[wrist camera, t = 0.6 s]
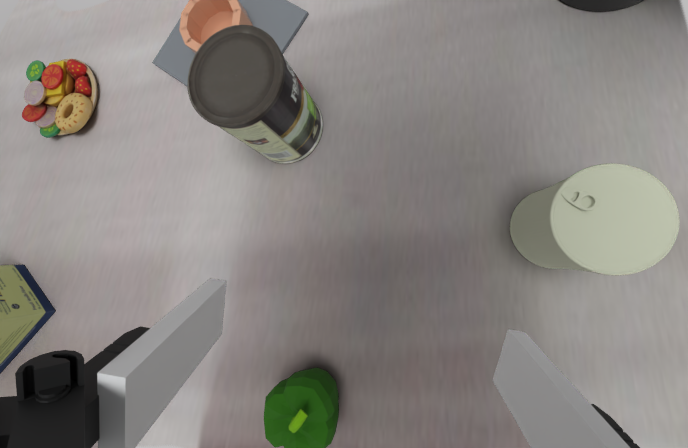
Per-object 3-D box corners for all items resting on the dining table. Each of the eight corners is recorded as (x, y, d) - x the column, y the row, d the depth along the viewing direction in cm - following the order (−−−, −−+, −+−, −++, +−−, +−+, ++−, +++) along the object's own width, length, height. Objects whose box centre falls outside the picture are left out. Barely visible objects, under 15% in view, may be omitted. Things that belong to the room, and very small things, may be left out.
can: (537, 174, 38) (592, 140, 27) (616, 215, 36) (712, 198, 25) (493, 240, 39) (528, 235, 27) (569, 284, 37) (642, 300, 25)
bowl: (220, -1, 49) (204, -23, 45) (266, 25, 47) (252, 4, 43) (187, 50, 49) (168, 33, 45) (231, 78, 47) (215, 63, 43)
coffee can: (304, 78, 45) (257, 3, 32) (335, 141, 44) (299, 91, 30) (242, 115, 47) (172, 58, 33) (270, 177, 45) (207, 144, 32)
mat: (217, -36, 50) (215, -38, 50) (308, 14, 46) (307, 11, 46) (154, 64, 51) (152, 62, 50) (238, 121, 47) (236, 119, 47)
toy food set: (101, 136, 52) (81, 129, 49) (36, 144, 55) (13, 137, 52) (104, 57, 54) (85, 45, 50) (40, 68, 56) (18, 57, 53)
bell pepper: (306, 438, 41) (274, 496, 32) (275, 379, 43) (234, 416, 33) (361, 407, 40) (345, 457, 30) (327, 347, 42) (301, 376, 32)
